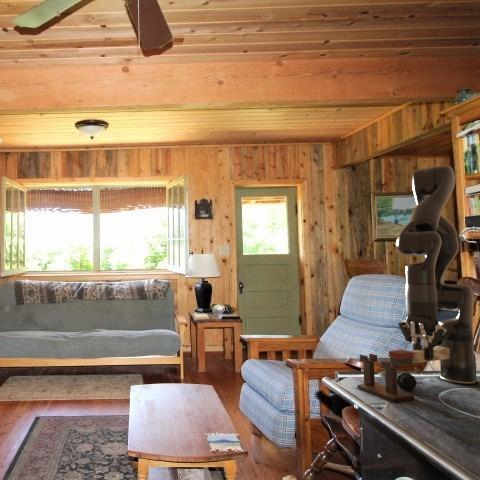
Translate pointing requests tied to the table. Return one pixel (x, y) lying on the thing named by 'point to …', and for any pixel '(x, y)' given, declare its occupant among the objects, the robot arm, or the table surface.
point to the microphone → (405, 381)
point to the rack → (390, 379)
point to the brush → (416, 356)
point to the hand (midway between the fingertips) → (423, 358)
